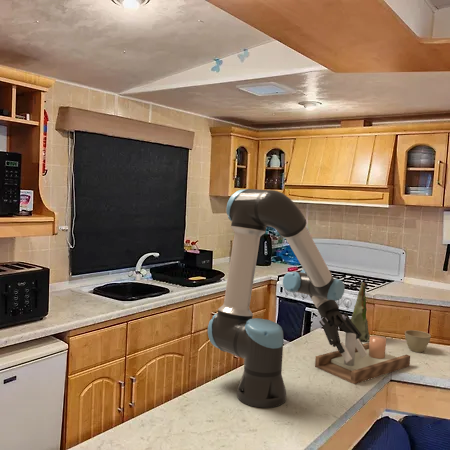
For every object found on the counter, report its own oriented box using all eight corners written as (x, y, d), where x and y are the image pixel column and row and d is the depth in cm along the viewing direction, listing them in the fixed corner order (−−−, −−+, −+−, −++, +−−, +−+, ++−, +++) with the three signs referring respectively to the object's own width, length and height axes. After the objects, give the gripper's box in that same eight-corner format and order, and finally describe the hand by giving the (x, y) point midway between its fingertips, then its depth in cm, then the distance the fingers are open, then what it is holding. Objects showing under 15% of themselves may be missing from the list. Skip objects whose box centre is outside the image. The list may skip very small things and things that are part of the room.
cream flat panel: (360, 374, 166) (362, 340, 165) (330, 362, 176) (332, 330, 176) (401, 361, 180) (403, 330, 179) (371, 351, 191) (373, 321, 190)
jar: (368, 357, 180) (369, 338, 179) (368, 352, 185) (369, 334, 185) (385, 359, 178) (386, 341, 177) (385, 354, 183) (386, 336, 183)
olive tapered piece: (359, 333, 218) (362, 279, 216) (377, 341, 207) (381, 285, 205) (339, 335, 214) (342, 280, 212) (356, 344, 203) (360, 286, 201)
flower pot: (425, 356, 191) (427, 339, 190) (400, 350, 197) (401, 333, 196) (432, 350, 199) (433, 333, 198) (407, 344, 205) (408, 328, 204)
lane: (354, 384, 160) (355, 372, 160) (315, 366, 175) (315, 356, 174) (409, 366, 179) (410, 355, 179) (369, 351, 194) (370, 342, 193)
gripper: (337, 306, 189) (369, 358, 178) (300, 312, 177) (331, 369, 165) (349, 295, 185) (382, 348, 173) (311, 301, 172) (344, 358, 161)
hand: (357, 358), depth 169 cm, fingers open, 8 cm apart
